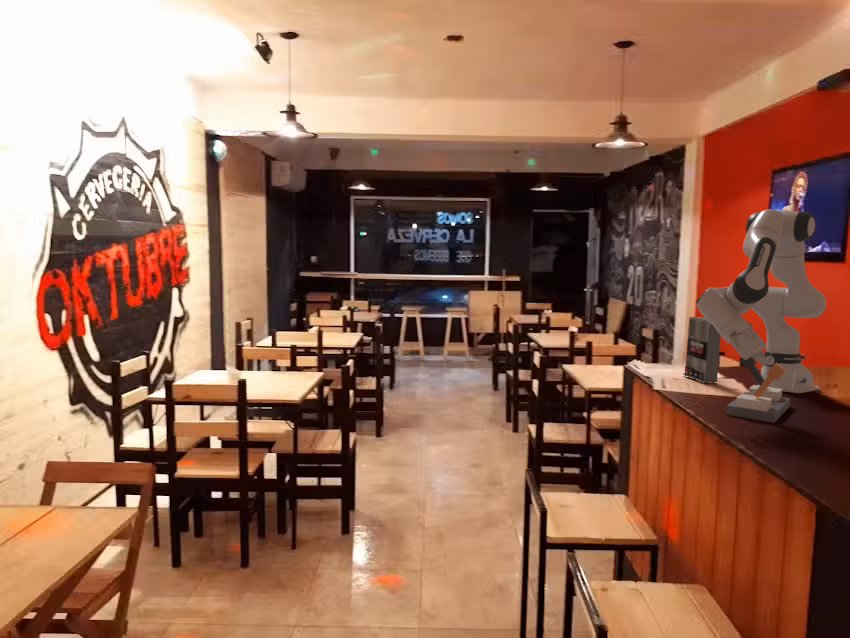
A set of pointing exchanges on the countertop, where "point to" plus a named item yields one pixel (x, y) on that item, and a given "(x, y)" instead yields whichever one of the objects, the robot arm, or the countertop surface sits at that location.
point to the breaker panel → (760, 414)
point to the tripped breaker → (770, 378)
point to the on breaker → (753, 369)
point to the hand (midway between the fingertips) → (766, 364)
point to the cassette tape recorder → (702, 350)
